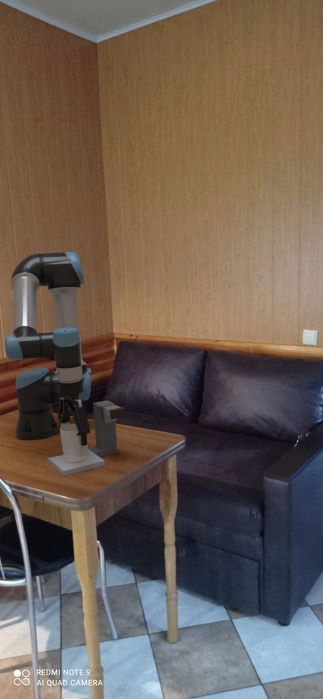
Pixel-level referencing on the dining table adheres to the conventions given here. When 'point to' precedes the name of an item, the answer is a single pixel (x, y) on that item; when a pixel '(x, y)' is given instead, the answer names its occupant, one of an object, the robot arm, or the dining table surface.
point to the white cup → (70, 443)
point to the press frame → (104, 446)
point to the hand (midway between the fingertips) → (75, 449)
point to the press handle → (112, 413)
